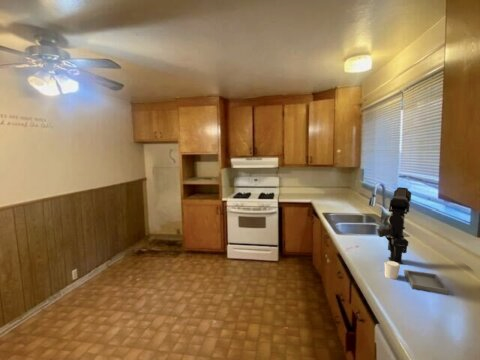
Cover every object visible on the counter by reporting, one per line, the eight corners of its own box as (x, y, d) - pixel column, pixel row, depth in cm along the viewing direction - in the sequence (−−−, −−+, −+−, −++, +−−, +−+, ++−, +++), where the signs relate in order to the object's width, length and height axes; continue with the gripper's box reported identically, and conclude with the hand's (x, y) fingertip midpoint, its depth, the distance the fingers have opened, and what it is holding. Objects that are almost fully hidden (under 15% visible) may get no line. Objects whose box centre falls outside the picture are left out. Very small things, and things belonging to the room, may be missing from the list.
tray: (404, 273, 141) (404, 269, 141) (436, 278, 137) (436, 274, 137) (412, 288, 126) (412, 284, 126) (448, 294, 122) (448, 290, 122)
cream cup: (384, 272, 143) (386, 259, 142) (400, 276, 139) (401, 263, 138) (381, 276, 138) (383, 263, 137) (397, 281, 133) (398, 267, 132)
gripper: (375, 218, 146) (372, 247, 147) (383, 225, 128) (380, 258, 129) (398, 220, 143) (395, 250, 144) (410, 228, 125) (406, 261, 126)
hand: (393, 254), depth 136 cm, fingers open, 9 cm apart
